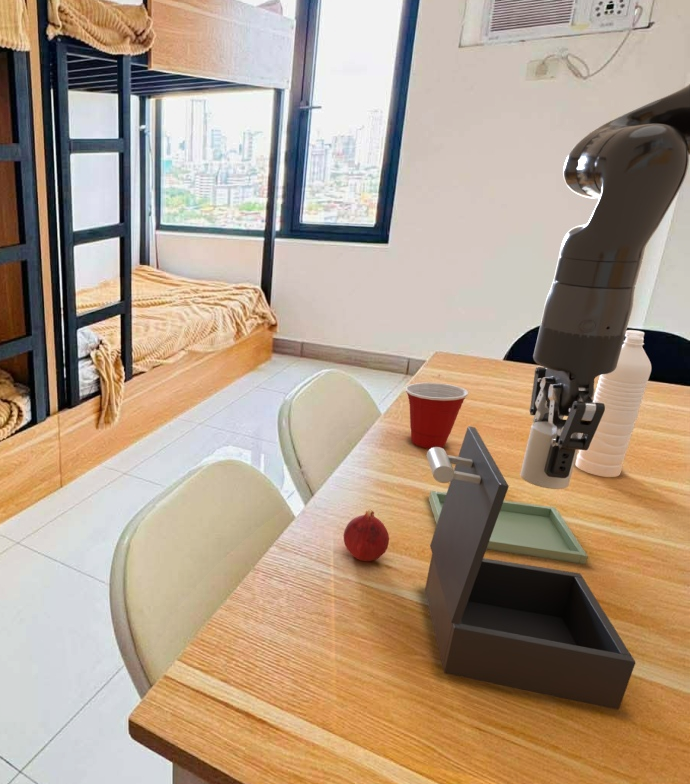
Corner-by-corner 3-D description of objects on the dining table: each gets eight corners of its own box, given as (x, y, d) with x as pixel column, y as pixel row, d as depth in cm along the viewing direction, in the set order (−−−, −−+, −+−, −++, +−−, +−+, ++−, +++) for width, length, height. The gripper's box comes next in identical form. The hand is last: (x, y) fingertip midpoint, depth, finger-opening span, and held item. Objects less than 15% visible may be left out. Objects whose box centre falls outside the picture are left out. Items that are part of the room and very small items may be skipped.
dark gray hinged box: (566, 620, 76) (580, 573, 74) (616, 716, 63) (636, 662, 61) (423, 595, 81) (432, 549, 79) (442, 679, 68) (454, 627, 65)
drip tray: (552, 518, 98) (555, 507, 97) (584, 569, 86) (588, 555, 85) (428, 501, 103) (430, 490, 102) (442, 546, 91) (444, 534, 90)
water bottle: (618, 482, 109) (661, 344, 100) (573, 472, 113) (610, 337, 104) (620, 465, 115) (659, 333, 107) (576, 455, 119) (611, 327, 110)
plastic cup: (416, 430, 131) (425, 375, 127) (468, 448, 122) (480, 390, 118) (384, 442, 125) (393, 385, 121) (436, 462, 117) (448, 402, 113)
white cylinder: (560, 473, 76) (573, 423, 73) (575, 491, 71) (589, 439, 69) (515, 468, 77) (526, 419, 75) (526, 486, 73) (539, 435, 70)
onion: (389, 575, 85) (398, 524, 82) (344, 571, 86) (352, 520, 83) (379, 551, 90) (387, 502, 87) (337, 547, 91) (344, 498, 88)
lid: (475, 427, 72) (425, 418, 74) (509, 486, 59) (447, 474, 60) (436, 547, 78) (391, 537, 80) (459, 625, 65) (404, 611, 66)
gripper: (657, 343, 60) (611, 499, 66) (596, 312, 73) (562, 444, 79) (566, 339, 62) (529, 490, 68) (523, 309, 75) (495, 438, 81)
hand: (547, 465), depth 74 cm, fingers closed on white cylinder, 4 cm apart
